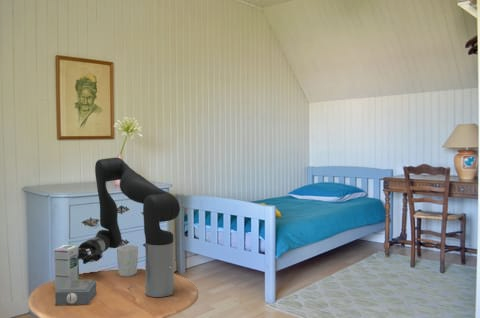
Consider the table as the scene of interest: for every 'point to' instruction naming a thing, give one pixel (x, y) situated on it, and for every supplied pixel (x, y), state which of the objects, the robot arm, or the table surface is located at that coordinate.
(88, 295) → the scale
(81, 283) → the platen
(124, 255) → the white cup
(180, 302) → the table surface
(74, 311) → the table surface
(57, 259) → the syrup box
